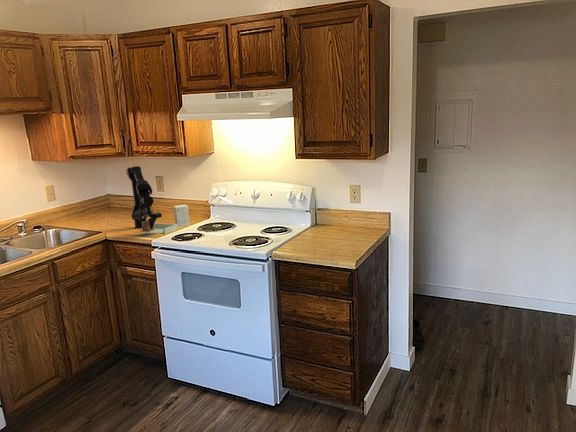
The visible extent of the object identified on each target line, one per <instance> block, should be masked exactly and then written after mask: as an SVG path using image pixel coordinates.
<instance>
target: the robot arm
mask: <svg viewBox="0 0 576 432" xmlns="http://www.w3.org/2000/svg"><path fill="white" fill-rule="evenodd" d="M125 172H126V175H127V178H128V179H129V181H131V188H132V195H133V196H132V197H133V206H132V207H131V209H132V211H131V219H132V220H133V221H134V227H133V229H136V230H137V229H138V230H140V229H141V230H142V223H141V222H143V221H146V220H149V221H150V227H151V229H153V226H154V224H155V223H156V220H157V219H159V218H162V216H163V215H162V213H161V212H157V211H156V212H154V211H152V207H153V204H154V198H153V197H152V196H151V195H153V189H152V186H151V184H150V183H149V182H148V180H146V179H145V178H144V176H143V174H142V168H141V166H140V165H139V166H132V167H128V168H126V171H125ZM148 217H149V218H148Z"/></svg>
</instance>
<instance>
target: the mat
mask: <svg viewBox="0 0 576 432" xmlns="http://www.w3.org/2000/svg"><path fill="white" fill-rule="evenodd" d="M158 234H159V233H152V232H142V233H140V234H138V235H136V237H141V238H150V237H153V236H155V235H158Z"/></svg>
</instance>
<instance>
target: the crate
mask: <svg viewBox="0 0 576 432" xmlns="http://www.w3.org/2000/svg"><path fill="white" fill-rule="evenodd" d="M154 229H155V230H153V231H150V232H149V233H158V234H167V233H169V232H174V231H175V230H178V229H179V227H178V224H176V223H159V222H155V224H154ZM141 232H142V233H144V232H143V231H142V230H141Z"/></svg>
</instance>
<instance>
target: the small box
mask: <svg viewBox="0 0 576 432" xmlns="http://www.w3.org/2000/svg"><path fill="white" fill-rule="evenodd" d="M173 213H174V221H175V222H174V224H178V228H179V227H185V226H190V224H191V223H190V215H189V207H188V205H187V204H180V205H174V206H173Z"/></svg>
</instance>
